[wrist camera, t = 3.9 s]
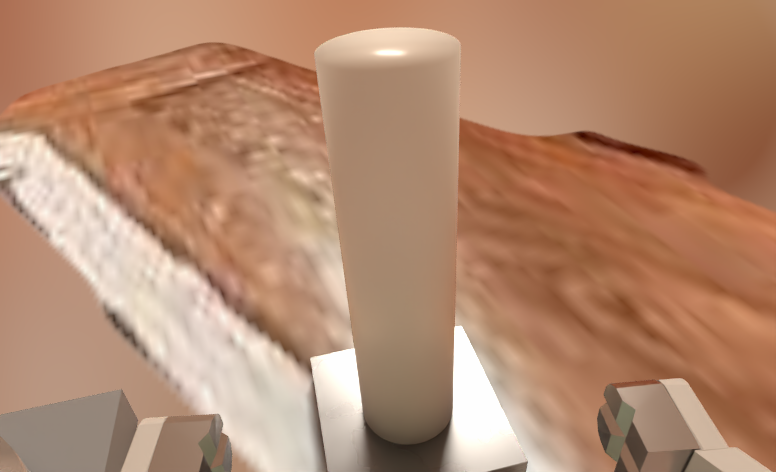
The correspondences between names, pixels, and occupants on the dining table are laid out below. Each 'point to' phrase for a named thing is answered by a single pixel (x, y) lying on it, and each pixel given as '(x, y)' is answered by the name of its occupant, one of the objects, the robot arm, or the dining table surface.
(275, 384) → the dining table surface
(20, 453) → the crank base
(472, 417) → the socket plate
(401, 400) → the pin
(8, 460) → the crank
